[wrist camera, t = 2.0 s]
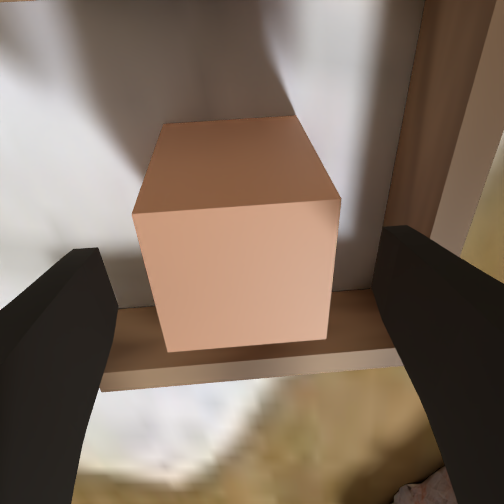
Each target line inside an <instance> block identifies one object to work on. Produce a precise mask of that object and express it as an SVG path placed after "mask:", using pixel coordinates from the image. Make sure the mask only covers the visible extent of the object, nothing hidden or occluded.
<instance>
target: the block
mask: <svg viewBox="0 0 504 504" xmlns="http://www.w3.org/2000/svg"><path fill="white" fill-rule="evenodd" d="M340 208H341V197H340V195H339V194H338V192H337V190H336V188H335V186H334V184H333V183H332V181H331V179H330V177H329V175H328V173H327V171H326V170H325V168H324V166H323V164H322V162H321V160H320V159H319V157H318V155H317V153H316V151H315V149H314V147H313V146H312V144H311V142H310V140H309V138H308V136H307V135H306V133H305V131H304V129H303V127H302V125H301V123H300V122H299V120H298V118H297V116H296V115H293V116H277V117H262V118H246V119H231V120H215V121H200V122H184V123H169V124H163V126H162V129H161V132H160V135H159V138H158V140H157V143H156V146H155V149H154V152H153V155H152V157H151V160H150V163H149V166H148V169H147V172H146V175H145V177H144V180H143V183H142V186H141V189H140V192H139V195H138V197H137V200H136V203H135V206H134V209H133V212H132V218H133V221H134V225H135V229H136V233H137V237H138V241H139V244H140V248H141V252H142V256H143V260H144V264H145V267H146V271H147V275H148V279H149V283H150V287H151V290H152V294H153V298H154V302H155V306H156V310H157V313H158V317H159V321H160V325H161V329H162V332H163V336H164V340H165V344H166V348H167V352H179V351H190V350H202V349H214V348H226V347H238V346H250V345H262V344H273V343H285V342H297V341H309V340H321V339H326V337H327V328H328V319H329V309H330V300H331V291H332V282H333V272H334V263H335V254H336V245H337V236H338V226H339V217H340Z"/></svg>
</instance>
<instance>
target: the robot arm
mask: <svg viewBox="0 0 504 504" xmlns="http://www.w3.org/2000/svg"><path fill="white" fill-rule="evenodd" d="M371 287H372V291H373V294H374V297H375V300H376V304H377V307H378V310H379V313H380V316H381V319H382V321H383V323H384V326H385V328H386V330H387V332H388V334H389V336H390V338H391V340H392V342H393V345H394V347H395V349H396V351H397V353H398V355H399V357H400V359H401V361H402V363H403V365H404V367H405V369H406V371H407V373H408V375H409V377H410V379H411V381H412V383H413V386H414V388H415V390H416V392H417V394H418V396H419V398H420V400H421V403H422V405H423V407H424V410H425V412H426V414H427V417H428V420H429V422H430V425H431V428H432V431H433V433H434V436H435V439H436V442H437V444H438V447H439V450H440V452H441V455H442V458H443V461H444V464H445V467H446V470H447V473H448V476H449V479H450V482H451V485H452V488H453V491H454V494H455V497H456V500H457V503H458V504H504V284H503V283H501V282H500V281H498V280H496V279H494V278H493V277H491V276H489V275H488V274H486V273H484V272H483V271H481V270H479V269H478V268H476V267H474V266H473V265H471V264H469V263H468V262H466V261H465V260H463V259H461V258H460V257H458V256H457V255H455V254H453V253H452V252H450V251H449V250H447V249H446V248H444V247H442V246H441V245H439V244H438V243H436V242H435V241H433V240H431V239H430V238H428V237H427V236H425V235H423V234H422V233H420V232H418V231H417V230H415V229H413V228H411V227H409V226H408V225H399V226H385V227H383V229H382V234H381V239H380V245H379V250H378V255H377V260H376V266H375V271H374V276H373V281H372V286H371ZM117 313H118V304H117V301H116V298H115V295H114V292H113V289H112V286H111V284H110V281H109V278H108V275H107V272H106V269H105V266H104V263H103V260H102V257H101V254H100V252H99V249H98V247H97V248H83V249H73V250H72V251H70V252H69V253H68V254H66V255H65V256H64V257H63V258H62V259H60V260H59V261H58V262H57V263H56V264H54V265H53V266H52V267H51V268H50V269H49V270H47V271H46V272H45V273H44V274H43V275H42V276H40V277H39V278H38V279H37V280H36V281H35V282H33V283H32V284H31V285H30V286H29V287H28V288H26V289H25V290H24V291H23V292H22V293H21V294H19V295H18V296H17V297H16V298H15V299H14V300H12V301H11V302H10V303H9V304H8V305H6V306H5V307H4V308H2V309H1V310H0V504H71V501H72V496H73V490H74V484H75V479H76V474H77V469H78V464H79V459H80V454H81V449H82V444H83V440H84V437H85V433H86V429H87V425H88V422H89V419H90V415H91V412H92V409H93V406H94V402H95V399H96V396H97V393H98V390H99V386H100V383H101V380H102V377H103V373H104V370H105V367H106V364H107V360H108V357H109V354H110V350H111V347H112V343H113V338H114V333H115V327H116V320H117Z"/></svg>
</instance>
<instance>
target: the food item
mask: <svg viewBox="0 0 504 504" xmlns="http://www.w3.org/2000/svg"><path fill="white" fill-rule="evenodd" d="M392 504H458V503H457V500H456V497H455V494H454V491H453V488H452V485H451V482H450V479H449V476H448V473H447V470H446V467H445V466H444V467H442V468H441V469H439V470H437V471H436V472H435V473H434V474H432V475H431V476H430V477H428V478H427V479H426V480H425V481H424V482H423V483H420V484H406V485H404V486H402V487H401V488H399V492H398V493H397V494H396V495H395V496H394V503H392Z"/></svg>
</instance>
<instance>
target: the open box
mask: <svg viewBox="0 0 504 504" xmlns="http://www.w3.org/2000/svg"><path fill="white" fill-rule="evenodd" d="M15 1H34V0H0V2H15ZM503 131H504V0H425V5H424V10H423V15H422V21H421V26H420V31H419V37H418V42H417V47H416V53H415V58H414V63H413V68H412V74H411V79H410V84H409V90H408V95H407V100H406V106H405V111H404V116H403V121H402V127H401V132H400V137H399V143H398V148H397V153H396V159H395V164H394V169H393V174H392V180H391V185H390V190H389V196H388V201H387V206H386V212H385V217H384V222H383V227H385V226H399V225H408V226H409V227H411V228H413V229H415V230H417V231H418V232H420V233H422V234H423V235H425V236H427V237H428V238H430V239H431V240H433V241H435V242H436V243H438V244H439V245H441V246H442V247H444V248H446V249H447V250H449V251H450V252H452V253H453V254H455V255H457V256H458V257H460V254H461V251H462V249H463V246H464V243H465V240H466V237H467V234H468V231H469V228H470V226H471V223H472V220H473V217H474V214H475V211H476V208H477V205H478V202H479V200H480V197H481V194H482V191H483V188H484V185H485V182H486V179H487V177H488V174H489V171H490V168H491V165H492V162H493V159H494V156H495V154H496V151H497V148H498V145H499V142H500V139H501V136H502V133H503ZM383 227H382V229H383ZM381 234H382V233H381ZM380 239H381V238H380ZM379 245H380V243H379ZM378 250H379V249H378ZM377 255H378V254H377ZM376 260H377V259H376ZM375 266H376V265H375ZM374 271H375V270H374ZM373 276H374V275H373ZM372 281H373V280H372ZM396 366H404V365H403V363H402V361H401V359H400V357H399V355H398V353H397V351H396V349H395V347H394V345H393V342H392V340H391V338H390V336H389V334H388V332H387V330H386V328H385V326H384V323H383V321H382V319H381V316H380V313H379V310H378V307H377V304H376V300H375V297H374V294H373V291H372V287H371V289H362V290H350V291H338V292H331V300H330V309H329V319H328V328H327V337H326V339H321V340H309V341H297V342H285V343H273V344H262V345H250V346H238V347H226V348H214V349H202V350H190V351H179V352H167V348H166V344H165V340H164V336H163V332H162V329H161V325H160V321H159V317H158V313H157V310H156V306H152V307H139V308H127V309H118V313H117V320H116V327H115V333H114V338H113V343H112V347H111V350H110V354H109V357H108V360H107V364H106V367H105V370H104V373H103V377H102V380H101V383H100V386H99V388H100V390H101V392H111V391H123V390H134V389H145V388H157V387H168V386H179V385H191V384H202V383H214V382H225V381H236V380H248V379H259V378H270V377H282V376H293V375H305V374H316V373H327V372H339V371H350V370H361V369H373V368H384V367H396Z"/></svg>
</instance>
